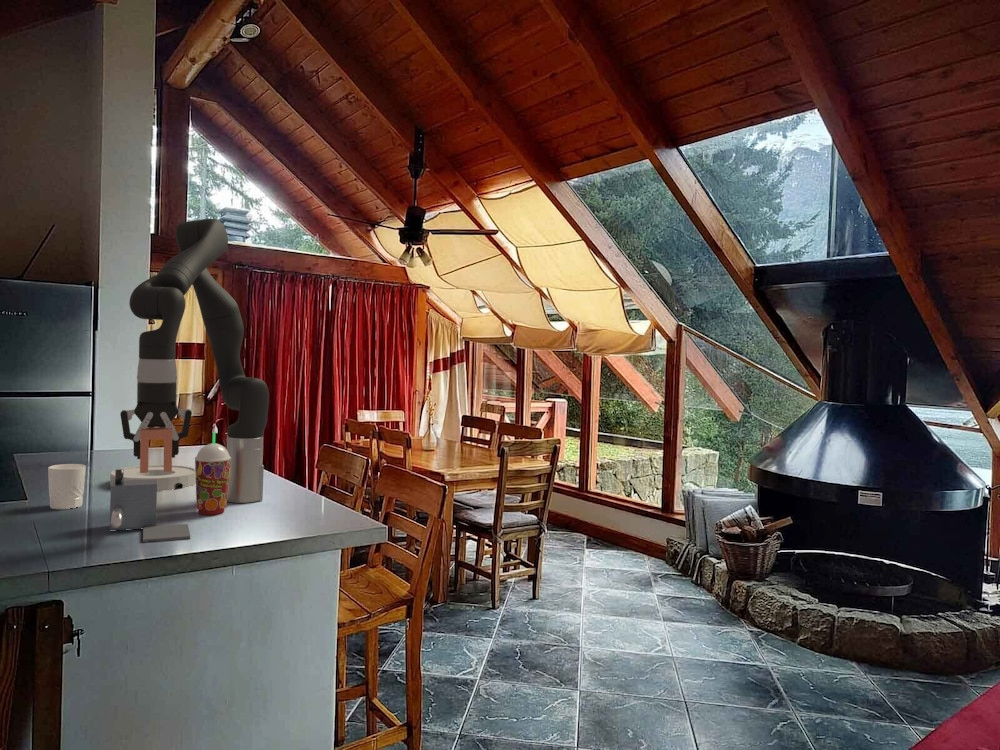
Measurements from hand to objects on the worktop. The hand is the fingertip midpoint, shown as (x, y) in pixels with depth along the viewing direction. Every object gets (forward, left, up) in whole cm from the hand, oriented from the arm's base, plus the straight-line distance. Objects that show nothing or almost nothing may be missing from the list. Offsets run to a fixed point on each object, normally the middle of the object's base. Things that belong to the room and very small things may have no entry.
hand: (156, 457), depth 148 cm
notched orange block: (0, 0, -3) cm, 3 cm away
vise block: (+4, -3, -17) cm, 18 cm away
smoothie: (-13, -18, -17) cm, 28 cm away
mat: (-2, 0, -17) cm, 17 cm away
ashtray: (-1, -60, -17) cm, 63 cm away
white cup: (+19, -34, -17) cm, 43 cm away
